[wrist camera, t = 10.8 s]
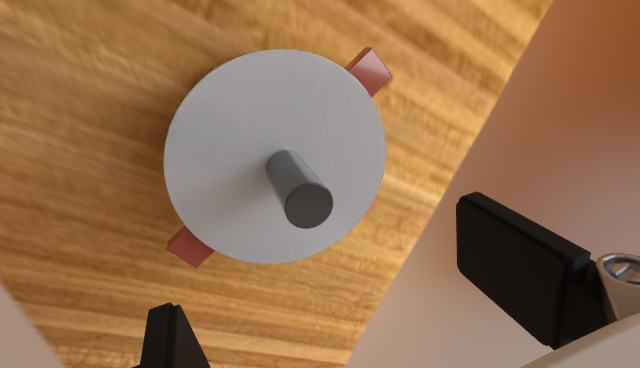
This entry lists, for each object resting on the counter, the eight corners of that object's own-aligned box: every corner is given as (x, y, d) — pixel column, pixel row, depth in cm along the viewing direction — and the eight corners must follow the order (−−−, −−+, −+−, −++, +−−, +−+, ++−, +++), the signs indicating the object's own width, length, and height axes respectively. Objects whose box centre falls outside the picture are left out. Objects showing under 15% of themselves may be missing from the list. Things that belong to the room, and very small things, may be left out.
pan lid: (110, 168, 19) (71, 224, 14) (285, -8, 19) (323, -29, 13) (278, 287, 26) (300, 360, 20) (413, 158, 25) (477, 194, 19)
